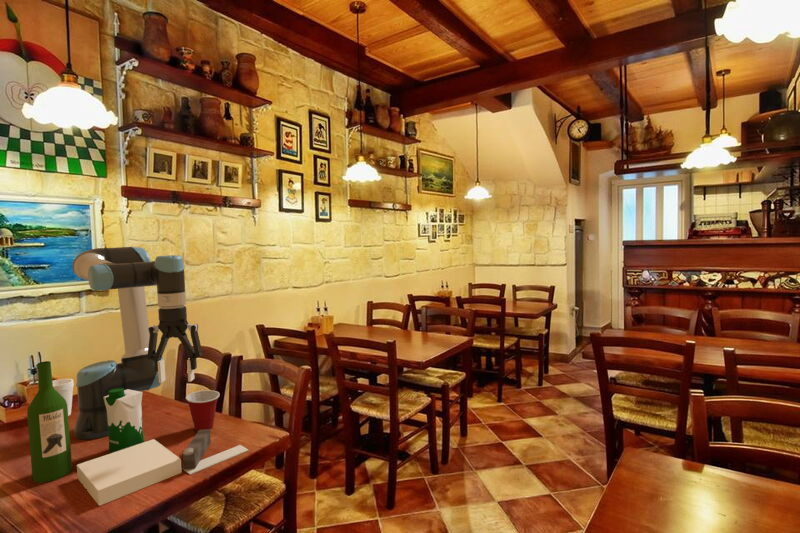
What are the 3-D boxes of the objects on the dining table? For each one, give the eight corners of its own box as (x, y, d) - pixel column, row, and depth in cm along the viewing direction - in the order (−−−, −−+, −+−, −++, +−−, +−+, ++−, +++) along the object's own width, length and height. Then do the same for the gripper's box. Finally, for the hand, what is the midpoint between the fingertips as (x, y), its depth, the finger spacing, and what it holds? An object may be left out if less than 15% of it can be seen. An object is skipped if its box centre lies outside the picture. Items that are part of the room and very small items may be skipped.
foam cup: (49, 413, 172) (46, 381, 171) (78, 409, 176) (75, 377, 175) (41, 422, 164) (38, 388, 163) (72, 417, 168) (69, 384, 167)
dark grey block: (193, 470, 126) (192, 451, 125) (182, 471, 125) (180, 452, 125) (210, 442, 143) (209, 426, 142) (200, 443, 142) (199, 426, 142)
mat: (182, 468, 128) (182, 467, 128) (240, 445, 141) (240, 444, 141) (190, 474, 124) (189, 473, 124) (248, 450, 138) (248, 449, 138)
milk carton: (104, 453, 138) (99, 390, 137) (132, 440, 147) (128, 381, 145) (122, 458, 135) (117, 394, 133) (150, 445, 143) (145, 384, 142)
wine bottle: (40, 486, 120) (30, 368, 118) (27, 477, 125) (17, 364, 123) (78, 471, 128) (69, 360, 126) (64, 463, 133) (55, 356, 131)
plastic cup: (209, 436, 149) (207, 401, 148) (180, 433, 151) (178, 399, 150) (227, 422, 159) (226, 390, 159) (201, 420, 162) (199, 388, 161)
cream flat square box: (77, 478, 124) (76, 464, 124) (154, 451, 139) (153, 439, 139) (99, 505, 111) (98, 490, 110) (181, 472, 126) (180, 459, 125)
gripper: (129, 309, 129) (135, 386, 130) (202, 307, 130) (207, 383, 132) (143, 305, 136) (147, 378, 138) (212, 303, 138) (216, 375, 139)
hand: (176, 380), depth 135 cm, fingers open, 8 cm apart
